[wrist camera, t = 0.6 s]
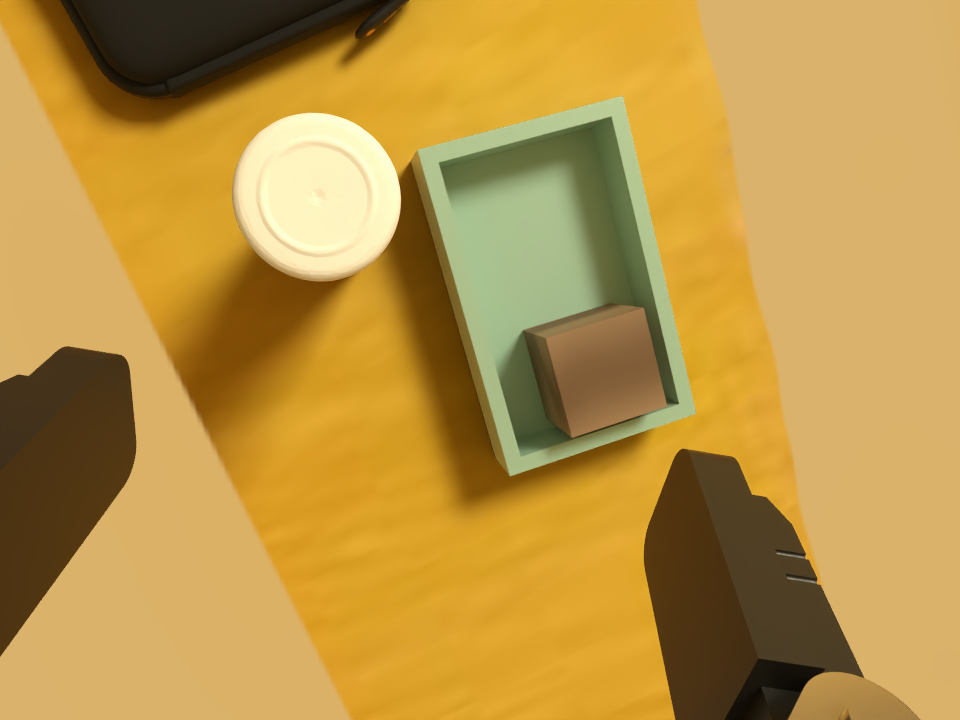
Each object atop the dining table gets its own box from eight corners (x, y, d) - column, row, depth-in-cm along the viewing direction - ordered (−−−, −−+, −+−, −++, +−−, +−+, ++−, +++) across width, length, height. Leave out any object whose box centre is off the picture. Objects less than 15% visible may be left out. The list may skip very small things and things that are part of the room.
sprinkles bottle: (343, 296, 33) (342, 314, 20) (255, 238, 32) (193, 218, 19) (398, 212, 33) (434, 176, 20) (312, 152, 32) (290, 72, 19)
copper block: (522, 329, 34) (545, 338, 30) (610, 303, 35) (643, 307, 31) (546, 418, 35) (572, 437, 31) (631, 391, 36) (667, 406, 32)
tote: (410, 160, 33) (417, 149, 30) (597, 111, 34) (622, 95, 31) (495, 457, 35) (510, 476, 32) (666, 401, 37) (696, 413, 34)
